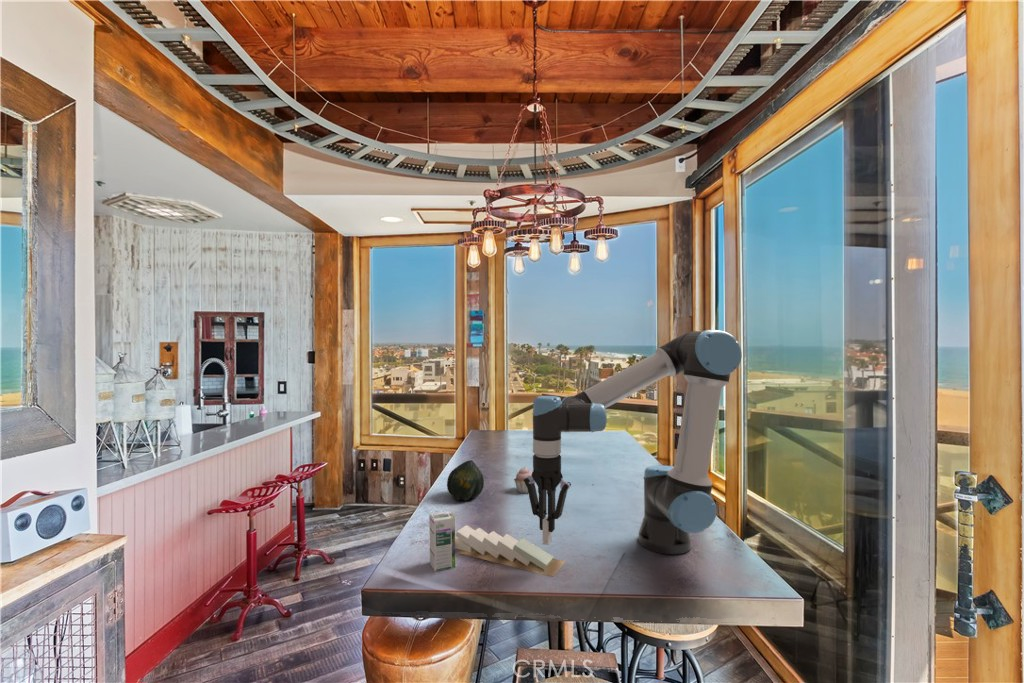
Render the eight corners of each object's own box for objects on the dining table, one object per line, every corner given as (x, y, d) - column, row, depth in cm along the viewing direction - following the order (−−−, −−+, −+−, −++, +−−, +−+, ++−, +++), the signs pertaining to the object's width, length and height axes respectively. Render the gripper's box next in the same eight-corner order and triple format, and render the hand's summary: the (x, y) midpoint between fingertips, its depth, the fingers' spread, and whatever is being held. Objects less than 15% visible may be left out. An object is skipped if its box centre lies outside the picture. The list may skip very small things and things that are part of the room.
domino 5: (537, 553, 124) (507, 533, 128) (529, 560, 120) (498, 540, 124) (535, 558, 124) (505, 538, 129) (527, 566, 120) (496, 545, 124)
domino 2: (493, 543, 130) (466, 524, 134) (484, 550, 126) (457, 531, 130) (492, 547, 130) (464, 529, 135) (483, 555, 126) (455, 536, 130)
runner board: (565, 565, 122) (565, 561, 122) (553, 581, 114) (553, 576, 114) (471, 543, 136) (471, 539, 136) (454, 556, 128) (454, 551, 128)
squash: (435, 488, 170) (461, 459, 170) (445, 478, 185) (469, 451, 185) (462, 515, 169) (489, 485, 168) (470, 502, 184) (495, 475, 183)
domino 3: (507, 546, 128) (479, 527, 132) (498, 553, 124) (469, 534, 128) (505, 551, 128) (477, 532, 133) (496, 558, 124) (468, 538, 128)
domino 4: (522, 549, 126) (492, 530, 130) (514, 557, 122) (484, 537, 126) (520, 554, 126) (491, 535, 131) (512, 562, 122) (482, 542, 126)
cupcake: (541, 490, 184) (541, 466, 184) (526, 496, 177) (526, 471, 177) (523, 486, 190) (523, 462, 190) (509, 491, 183) (509, 467, 183)
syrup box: (434, 576, 117) (434, 520, 117) (429, 566, 122) (429, 512, 122) (455, 571, 119) (455, 517, 119) (449, 561, 125) (449, 509, 125)
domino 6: (553, 556, 122) (522, 537, 126) (546, 565, 117) (514, 544, 122) (551, 561, 122) (520, 542, 126) (544, 570, 118) (512, 549, 122)
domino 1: (479, 539, 132) (451, 532, 137) (470, 546, 128) (441, 539, 133) (479, 544, 132) (451, 538, 137) (470, 551, 128) (441, 544, 133)
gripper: (574, 453, 120) (575, 541, 120) (530, 448, 126) (530, 532, 126) (565, 460, 114) (565, 553, 114) (518, 454, 120) (519, 543, 120)
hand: (547, 542), depth 120 cm, fingers closed
